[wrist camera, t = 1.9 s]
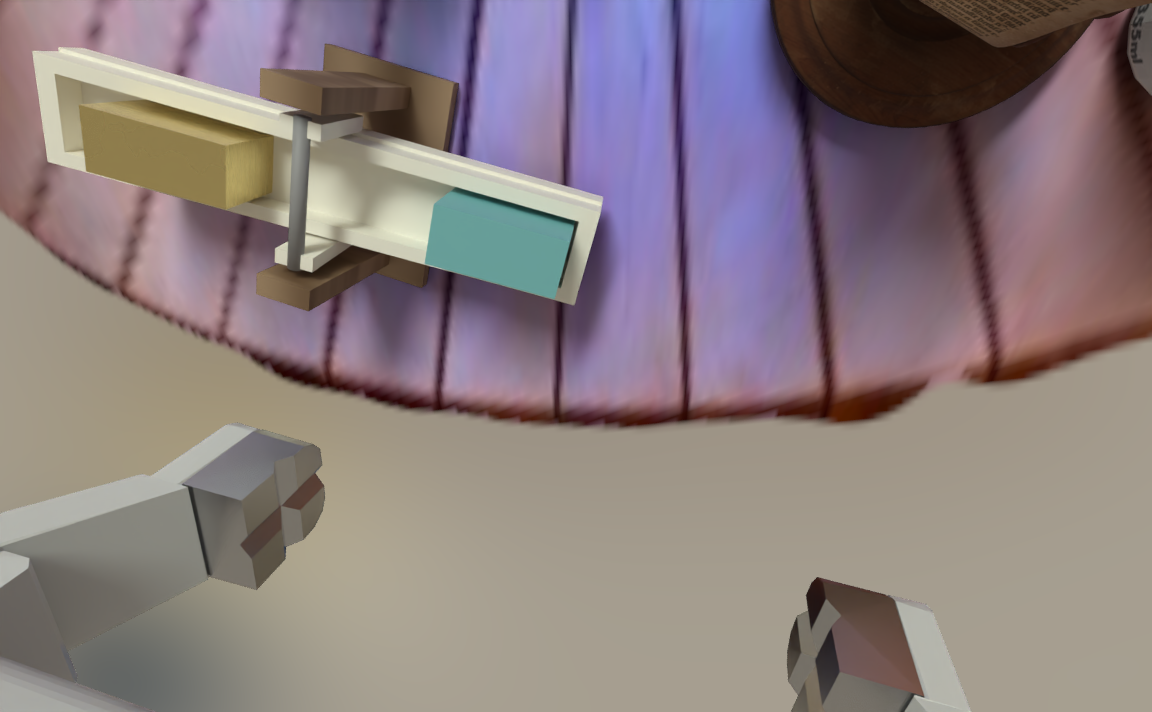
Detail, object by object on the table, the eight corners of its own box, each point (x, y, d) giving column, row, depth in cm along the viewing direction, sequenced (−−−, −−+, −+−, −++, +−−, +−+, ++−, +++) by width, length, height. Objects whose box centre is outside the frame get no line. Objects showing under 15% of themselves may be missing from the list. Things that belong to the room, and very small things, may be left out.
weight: (149, 158, 33) (86, 171, 29) (146, 99, 32) (78, 104, 28) (272, 192, 34) (225, 209, 30) (273, 135, 32) (225, 145, 28)
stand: (318, 249, 41) (213, 294, 32) (332, 44, 35) (208, 30, 26) (426, 284, 40) (350, 340, 31) (458, 83, 35) (377, 82, 26)
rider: (446, 240, 35) (424, 263, 31) (456, 186, 33) (433, 204, 29) (561, 272, 35) (554, 299, 31) (575, 220, 34) (570, 242, 30)
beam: (96, 172, 36) (0, 192, 30) (80, 30, 32) (-31, 23, 27) (573, 302, 38) (565, 343, 32) (607, 181, 34) (605, 204, 28)
